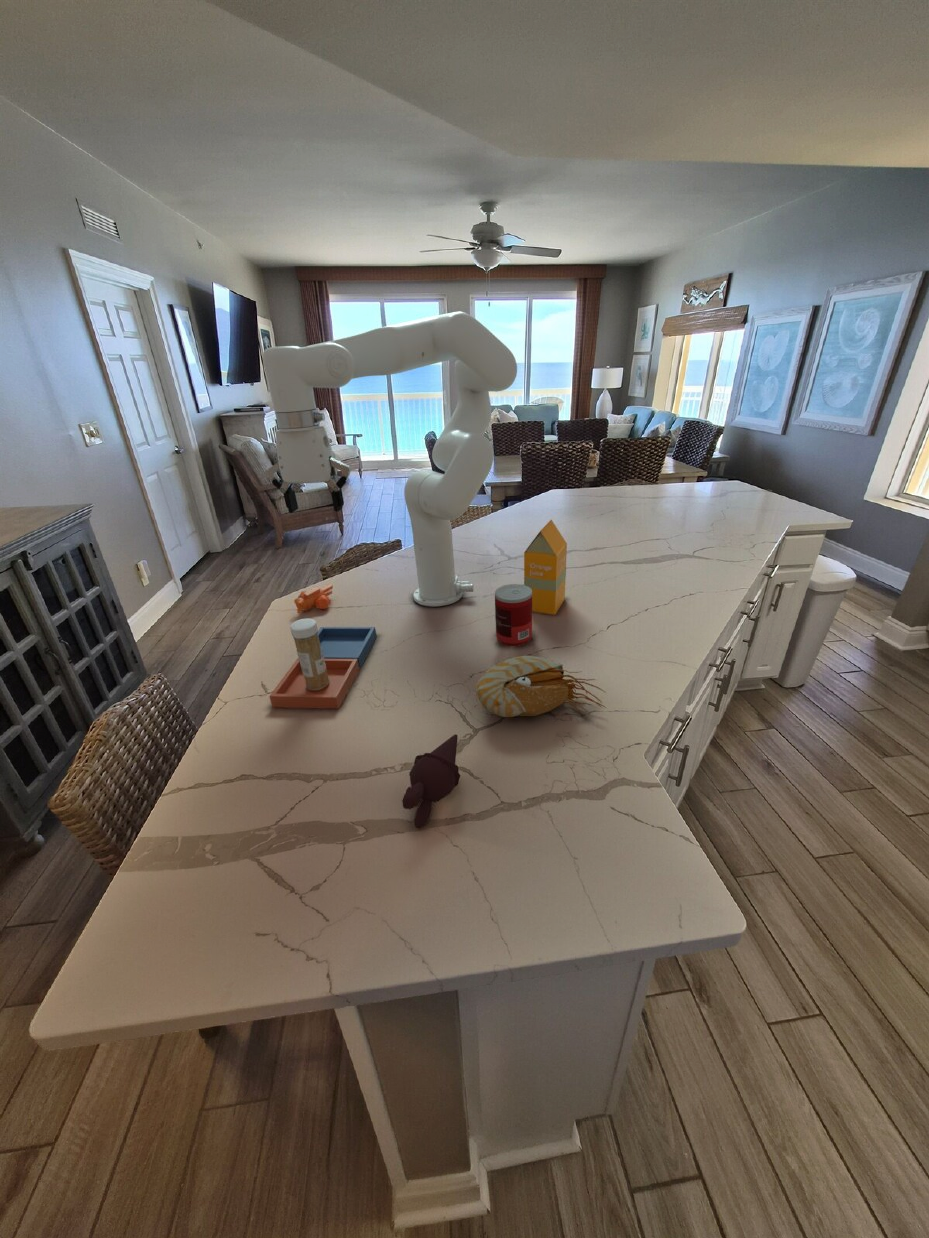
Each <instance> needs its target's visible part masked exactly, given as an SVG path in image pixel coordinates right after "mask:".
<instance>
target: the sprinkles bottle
mask: <svg viewBox="0 0 929 1238" xmlns="http://www.w3.org/2000/svg"><path fill="white" fill-rule="evenodd" d="M289 628H290V633H291V636H292V638H293V641H294V643H295V648H296V653H297V657H298V658H299V661H300V665H301V669H302V673H303V675H304V679H305V682H306V688H307V689H308V690H311V691H318V690H322V689H324V688H325V687H327V686H328V685H329V682H330V680H329V678H328V675H327V671H326V665H325V661H324V657H323V653H322V648H321V646H320V641H319V637H318V631H319V628H318V624H317V621H316V620H315V619H313V618H301V619H297V620H295V621H294V622H292V623H291V624H290V627H289Z"/></svg>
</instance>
